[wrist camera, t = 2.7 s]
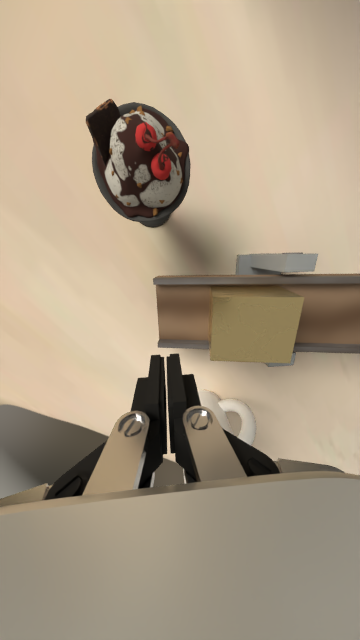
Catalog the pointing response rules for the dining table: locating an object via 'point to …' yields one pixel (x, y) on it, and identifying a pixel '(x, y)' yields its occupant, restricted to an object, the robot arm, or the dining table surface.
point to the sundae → (139, 161)
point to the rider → (253, 323)
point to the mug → (219, 410)
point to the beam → (317, 289)
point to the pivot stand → (275, 270)
